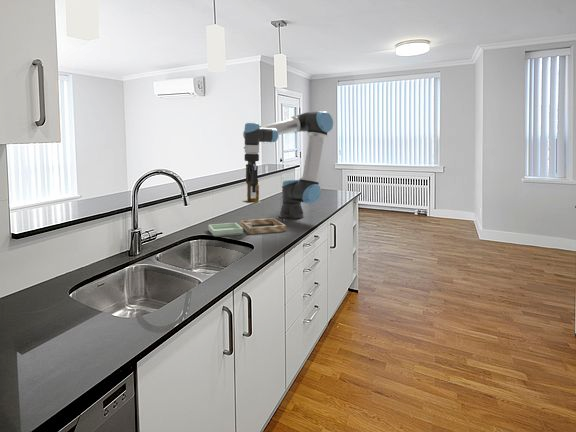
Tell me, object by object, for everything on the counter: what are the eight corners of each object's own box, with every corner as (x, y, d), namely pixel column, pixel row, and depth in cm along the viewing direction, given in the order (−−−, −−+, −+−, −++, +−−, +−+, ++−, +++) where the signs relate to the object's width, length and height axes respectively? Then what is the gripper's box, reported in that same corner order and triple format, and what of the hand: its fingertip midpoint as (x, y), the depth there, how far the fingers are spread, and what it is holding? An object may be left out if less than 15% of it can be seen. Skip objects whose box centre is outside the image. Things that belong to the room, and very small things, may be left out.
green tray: (236, 228, 222) (235, 222, 221) (243, 234, 208) (243, 228, 208) (208, 230, 216) (208, 224, 216) (214, 236, 203) (213, 230, 202)
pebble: (249, 226, 226) (249, 222, 226) (252, 227, 224) (252, 223, 224) (244, 227, 224) (244, 223, 224) (247, 228, 222) (247, 223, 222)
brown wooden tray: (273, 223, 234) (273, 218, 234) (286, 230, 216) (286, 225, 215) (240, 225, 227) (240, 220, 227) (250, 233, 209) (249, 228, 208)
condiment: (261, 202, 215) (262, 179, 213) (247, 203, 210) (247, 180, 208) (255, 200, 221) (255, 178, 219) (241, 201, 216) (241, 179, 214)
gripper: (239, 152, 218) (239, 195, 222) (250, 154, 201) (249, 200, 205) (253, 152, 221) (253, 194, 225) (264, 154, 203) (263, 199, 208)
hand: (251, 197), depth 215 cm, fingers closed on condiment, 6 cm apart
